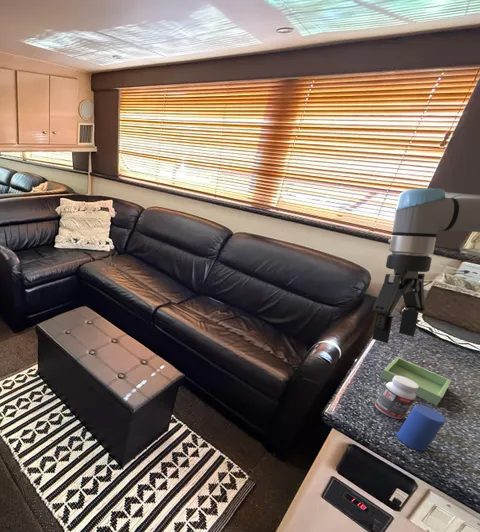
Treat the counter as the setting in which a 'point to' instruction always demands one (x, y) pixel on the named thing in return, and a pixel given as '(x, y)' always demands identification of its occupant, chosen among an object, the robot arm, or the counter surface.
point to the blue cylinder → (420, 427)
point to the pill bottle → (397, 397)
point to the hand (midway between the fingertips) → (393, 337)
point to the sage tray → (418, 379)
